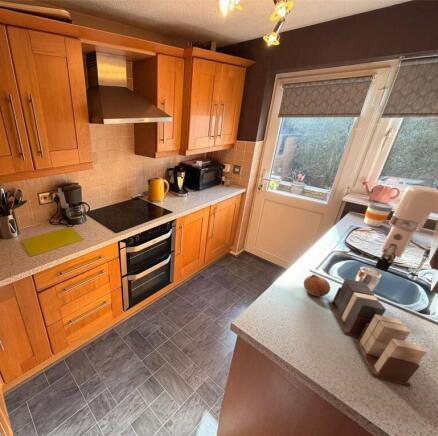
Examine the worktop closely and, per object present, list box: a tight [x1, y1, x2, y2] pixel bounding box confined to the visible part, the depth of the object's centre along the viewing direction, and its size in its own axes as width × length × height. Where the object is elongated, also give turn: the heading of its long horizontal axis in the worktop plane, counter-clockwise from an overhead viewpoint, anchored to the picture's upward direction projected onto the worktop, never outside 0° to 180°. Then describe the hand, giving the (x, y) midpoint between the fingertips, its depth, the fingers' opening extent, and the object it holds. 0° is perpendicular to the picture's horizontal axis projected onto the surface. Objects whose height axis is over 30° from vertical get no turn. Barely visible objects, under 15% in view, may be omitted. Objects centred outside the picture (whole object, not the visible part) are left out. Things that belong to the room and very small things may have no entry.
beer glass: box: [354, 266, 383, 292], centre depth 98 cm, size 7×7×15 cm
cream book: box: [342, 292, 380, 322], centre depth 86 cm, size 6×2×13 cm, turn 72°
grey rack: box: [328, 278, 387, 338], centre depth 88 cm, size 9×16×14 cm, turn 162°
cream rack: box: [353, 314, 427, 386], centre depth 73 cm, size 9×13×14 cm
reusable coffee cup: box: [363, 201, 393, 227], centre depth 166 cm, size 13×13×15 cm
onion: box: [303, 273, 331, 298], centre depth 102 cm, size 10×9×10 cm
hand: (383, 264), depth 85 cm, fingers open, 9 cm apart
